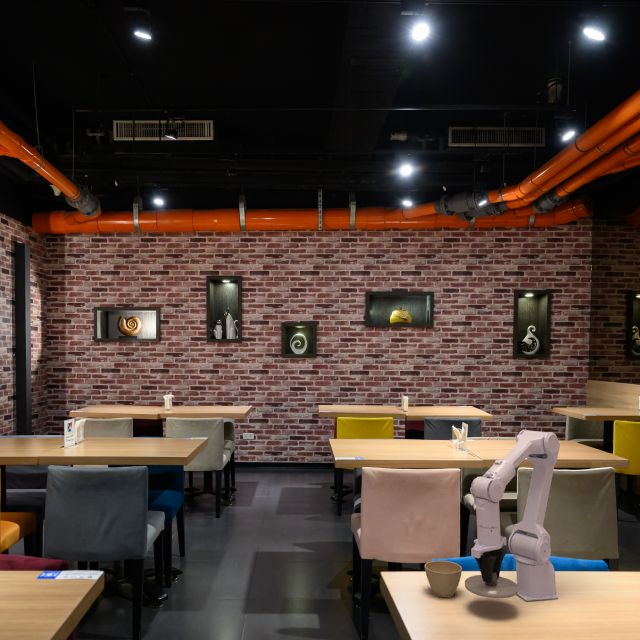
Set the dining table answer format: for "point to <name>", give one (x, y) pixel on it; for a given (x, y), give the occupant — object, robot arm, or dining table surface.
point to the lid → (491, 586)
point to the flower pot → (443, 577)
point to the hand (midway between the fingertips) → (490, 580)
